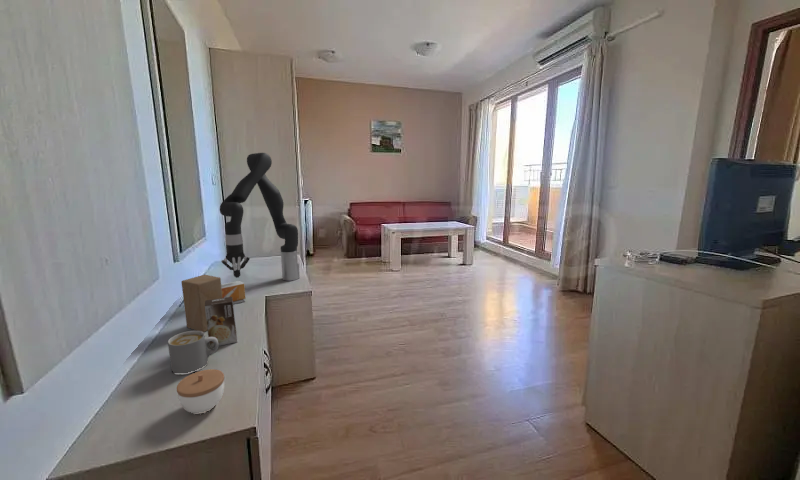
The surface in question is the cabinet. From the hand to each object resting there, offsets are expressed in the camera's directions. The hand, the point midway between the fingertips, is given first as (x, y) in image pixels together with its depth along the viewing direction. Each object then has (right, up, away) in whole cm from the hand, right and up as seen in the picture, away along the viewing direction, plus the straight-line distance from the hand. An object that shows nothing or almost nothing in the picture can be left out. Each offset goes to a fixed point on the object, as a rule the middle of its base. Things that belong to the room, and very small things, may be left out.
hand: (237, 277), depth 163 cm
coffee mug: (+15, -22, -56) cm, 62 cm away
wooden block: (+1, -17, -28) cm, 33 cm away
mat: (-6, -12, -2) cm, 14 cm away
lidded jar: (+29, -26, -75) cm, 85 cm away
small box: (+2, -6, +2) cm, 7 cm away
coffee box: (+15, -20, -41) cm, 48 cm away
